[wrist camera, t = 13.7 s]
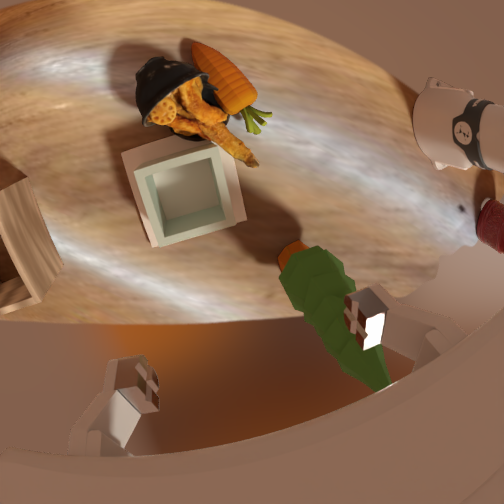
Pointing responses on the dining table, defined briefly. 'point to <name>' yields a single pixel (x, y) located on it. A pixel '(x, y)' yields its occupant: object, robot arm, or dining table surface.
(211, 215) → the open rectangular box
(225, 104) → the carrot
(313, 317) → the decorative tree
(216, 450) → the robot arm
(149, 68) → the bowl of food
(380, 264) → the dining table surface
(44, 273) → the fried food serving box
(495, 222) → the canister
